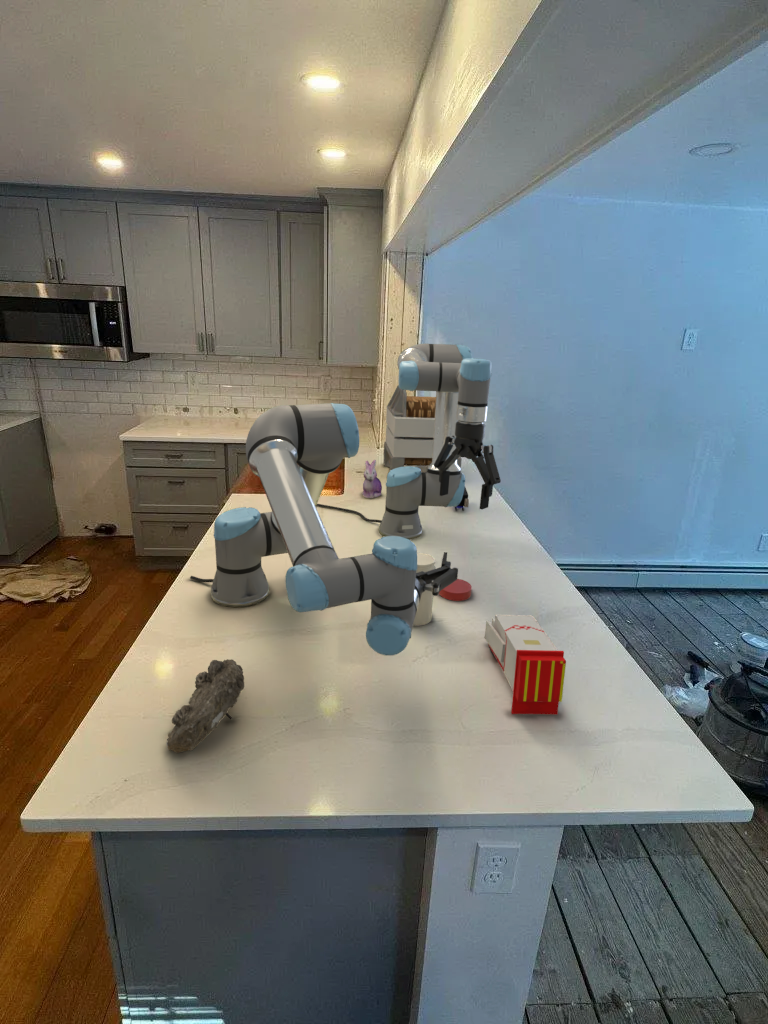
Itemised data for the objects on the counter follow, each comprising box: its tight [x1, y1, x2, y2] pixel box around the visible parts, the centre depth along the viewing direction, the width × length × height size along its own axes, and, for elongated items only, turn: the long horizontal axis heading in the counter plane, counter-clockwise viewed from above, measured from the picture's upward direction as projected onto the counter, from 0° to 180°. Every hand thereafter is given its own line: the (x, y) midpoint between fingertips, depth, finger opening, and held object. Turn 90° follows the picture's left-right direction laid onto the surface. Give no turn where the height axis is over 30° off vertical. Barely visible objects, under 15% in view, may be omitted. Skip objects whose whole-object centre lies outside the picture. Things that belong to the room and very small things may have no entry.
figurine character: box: [454, 486, 470, 512], centre depth 229 cm, size 7×8×15 cm
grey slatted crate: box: [383, 384, 463, 472], centre depth 268 cm, size 34×33×41 cm
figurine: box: [361, 459, 383, 499], centre depth 237 cm, size 9×10×15 cm
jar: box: [413, 552, 437, 627], centre depth 144 cm, size 8×8×17 cm
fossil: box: [166, 658, 245, 754], centre depth 106 cm, size 22×10×15 cm
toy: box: [484, 614, 567, 716], centre depth 124 cm, size 12×13×30 cm
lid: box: [438, 578, 473, 602], centre depth 159 cm, size 9×9×2 cm
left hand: (415, 554), depth 129 cm, fingers open, 13 cm apart
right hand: (463, 501), depth 151 cm, fingers open, 13 cm apart
